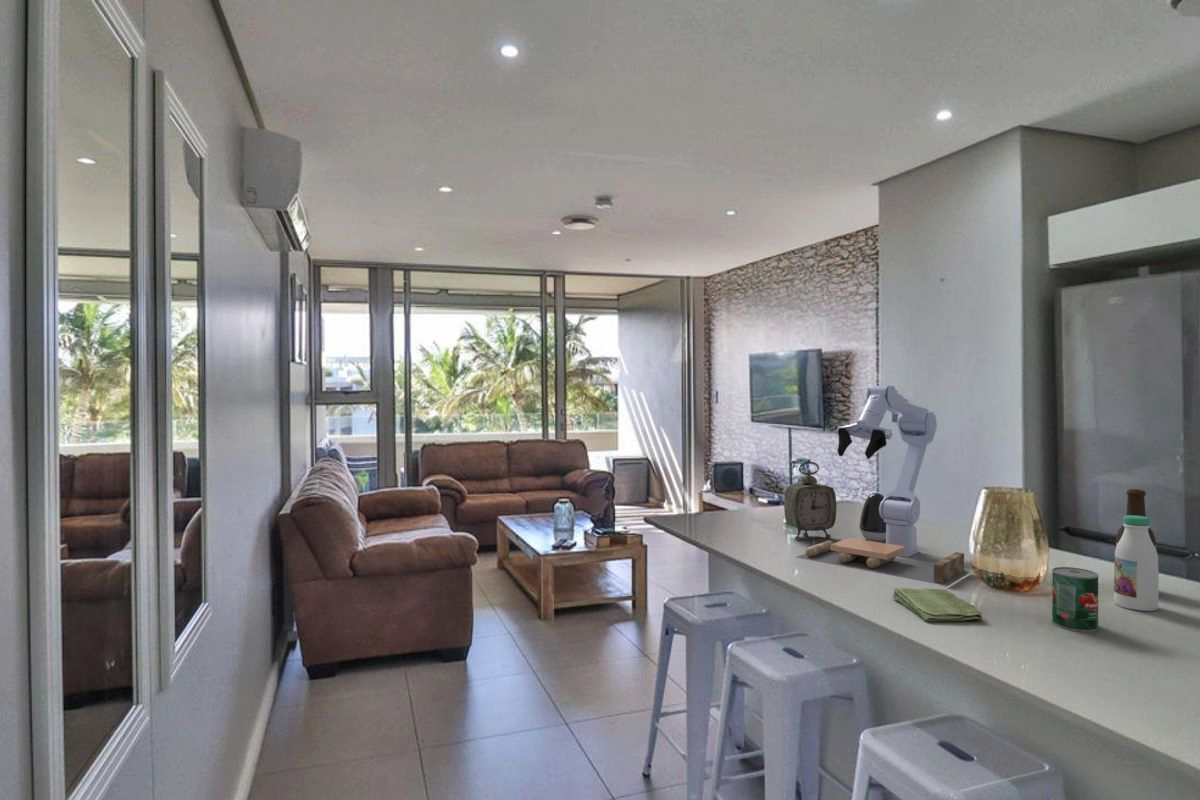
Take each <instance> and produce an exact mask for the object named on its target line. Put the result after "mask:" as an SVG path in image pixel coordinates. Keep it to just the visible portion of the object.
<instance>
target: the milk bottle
mask: <svg viewBox="0 0 1200 800" xmlns="http://www.w3.org/2000/svg"><path fill="white" fill-rule="evenodd" d="M1122 521H1123V525H1124V527H1125V529H1124V533H1123V535H1122V537H1121V539H1120V541H1119V542H1118V544H1117V546H1116V545H1115V551H1114V567H1113V568H1114V569H1113V570H1114V571H1113V573H1114V574H1113V576H1114V577H1113V579H1114V580H1113V582H1114V583H1113V594H1114V595H1113V597H1114V599H1113V600H1114V602H1115V605H1117V606H1118V607H1122V608H1124V609H1129V610H1133V611H1140V612H1153V611H1154V612H1155V611H1157V610H1158V608H1159V556H1158V552H1157V547H1156V548H1155V546H1154V544H1153V543H1152V541H1151V539H1150V536H1149V533H1148V528H1150V529H1151V527H1150V524H1151V523H1150V521H1151V520H1150V518H1149V517H1147V516H1146V517H1144V516H1135V515H1124V516H1123V518H1122ZM1123 525H1122V526H1123Z"/></svg>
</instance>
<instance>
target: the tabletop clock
mask: <svg viewBox="0 0 1200 800" xmlns="http://www.w3.org/2000/svg"><path fill="white" fill-rule="evenodd" d="M809 464H811V465H815V466H816V468H817V470H815V471H813V472H812V471H811V470H810V469H809V470H807V471H806V472H803V471H802V470H801V468H802V467H803V466H804V465H809ZM819 470H820V467H819V464H818V463H817V462H815V461H805V462H803V463H801V464H800V465H799V467H798V471H799V473H801V475H805V476H803V477H802V478H801V480H800V482H798V483H791V484H790V485H788V486H786V489H785V492H784V500H783V501H784V502H783V507H784V508H783V509H784V517H785V522H786V524H787V525H788V526H790V527H794V528H796V529H797V535H796V536H795V537H794V539H795V541H801V536H800V535H801V532H802V531H804V532H803V534H802V536H803V537H805V538H806V537H809V533H808V531H809V532H810V531H811V532H817V531H818V532H819V531H822V532H823V533H824V535H825V538H826V539H829V540H831V537H832V535H830V534H829V533H828V532H827V530H829V529H831V528H834V526H835V523H836V520H837V519H836V518H837V498H836V497H837V496H836V491H835V489H834V487H832V486H829V485H825V484H822V483H819V482H818V480H817V478H816V477H815V476H813V475H815V474H817V473H818V472H819Z"/></svg>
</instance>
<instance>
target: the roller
mask: <svg viewBox="0 0 1200 800" xmlns="http://www.w3.org/2000/svg"><path fill="white" fill-rule="evenodd" d="M833 543H835V542H834V541H833V540H831V539H829V540H826V541H823V542H820V543H817V544H814V545H811V546H808V547H807V548H806V549H805V553H804V554H806V555H807V556H808V557H813V556H816V555H819V554H822V553H824V552H827V551H830V545H831V544H833Z"/></svg>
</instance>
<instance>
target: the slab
mask: <svg viewBox="0 0 1200 800" xmlns="http://www.w3.org/2000/svg"><path fill="white" fill-rule="evenodd" d="M830 550H833V551H839V552H844V553H850V554H856V555H862V556H868V557H873V558H879V559H885V560H888V559H890V558H892V557H895V556H896V557H897V556H900V555H899V554H901V553H904V552H905V546H899V545H893V544H887V543H886V542H874V541H869V540H867V539H860V538H854V537H847V538H845V539H842V540H839V541H837V542H834V543H833V544H831V545H830Z"/></svg>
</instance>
